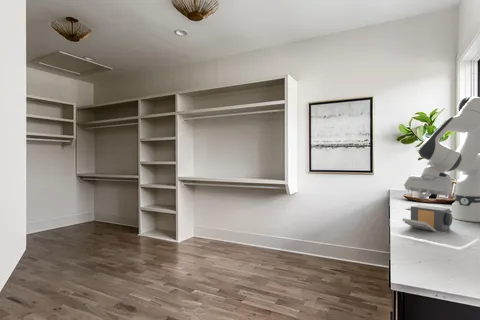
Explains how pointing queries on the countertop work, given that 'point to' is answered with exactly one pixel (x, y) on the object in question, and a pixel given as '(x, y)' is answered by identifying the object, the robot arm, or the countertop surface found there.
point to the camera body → (432, 216)
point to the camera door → (419, 225)
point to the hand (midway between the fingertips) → (421, 197)
